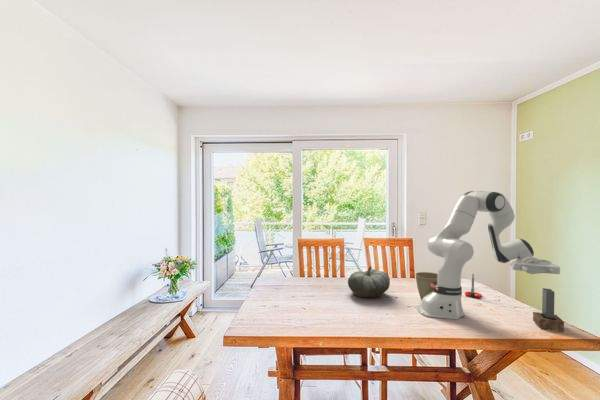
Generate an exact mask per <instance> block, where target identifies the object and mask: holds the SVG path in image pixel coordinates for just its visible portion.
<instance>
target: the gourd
mask: <svg viewBox="0 0 600 400" xmlns="http://www.w3.org/2000/svg"><path fill="white" fill-rule="evenodd" d="M390 281H391V279H390V277H389V275H388V274H387V272H384V271H382V270H379V269H377V268H372V267H371V266H369V267H368V269H367V270H366V271H362V270H361V271H360V270H359V271H355V272H353V273H351V274H350V276H349V277H348V279H347V285H348V288H349V289H350V291H351V292H352V293H353V294H354V295H356V296H358V297H360V298H374V297H380V296H382V295H383V294H385V293H386V292H387V291H388V290H389V288H390V283H391V282H390Z"/></svg>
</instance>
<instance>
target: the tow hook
mask: <svg viewBox="0 0 600 400" xmlns="http://www.w3.org/2000/svg"><path fill="white" fill-rule="evenodd" d="M464 294H465V297H468V298H475V299H480V298H482V297H483V295H482V293H479V292H475V274H474V273H472V275H471V287H470V291H465V292H464Z"/></svg>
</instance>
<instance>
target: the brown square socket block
mask: <svg viewBox="0 0 600 400" xmlns="http://www.w3.org/2000/svg"><path fill="white" fill-rule="evenodd" d="M533 321H534V322H535V323H534V322H533ZM532 322H533V323H534V324H535V326H537V328H538V327H539V328H541V329H540V330H546V329H550V330H549V331H553V330H558V331H557V332H560V331H564V332H565V321H564V320H563V319H562V318H560V316H558V315H557V314H554V320H552V319H545V318H544V317H543V316H542V312H536V311H532ZM539 328H538V329H539Z"/></svg>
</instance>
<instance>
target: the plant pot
mask: <svg viewBox="0 0 600 400" xmlns="http://www.w3.org/2000/svg"><path fill="white" fill-rule="evenodd" d="M415 279H416V286H417V291H418V294H419V298H420V300H421V302H422V299H423V297H425V296H426V295H428V294H429V293H431V292H432V291H434V288H432V287H431V286H430V284H434V285H436V284H437V273H435V272H429V271H428V272H427V271H422V272H421V271H420V272H416V273H415Z"/></svg>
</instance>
